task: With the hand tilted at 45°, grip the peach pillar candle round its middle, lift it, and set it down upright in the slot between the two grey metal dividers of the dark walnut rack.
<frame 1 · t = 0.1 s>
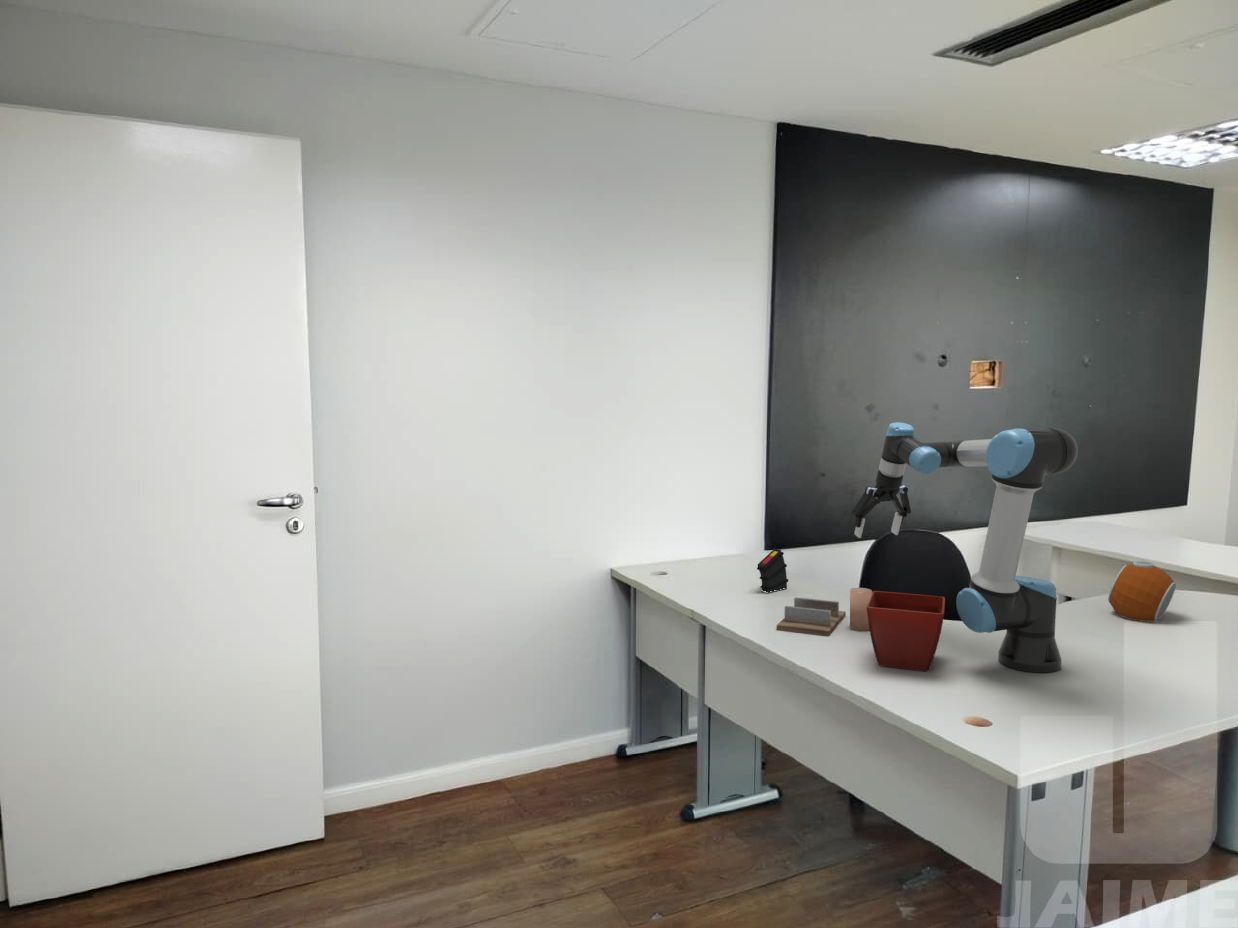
hand: (876, 534, 265), 28 cm above the table, tool tilted 20°, fingers open, 13 cm apart
plant pot: (905, 662, 229), on the table
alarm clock: (1140, 616, 270), on the table
peach pillar candle: (860, 628, 261), on the table
rack: (811, 622, 267), on the table
magazine: (772, 591, 309), on the table
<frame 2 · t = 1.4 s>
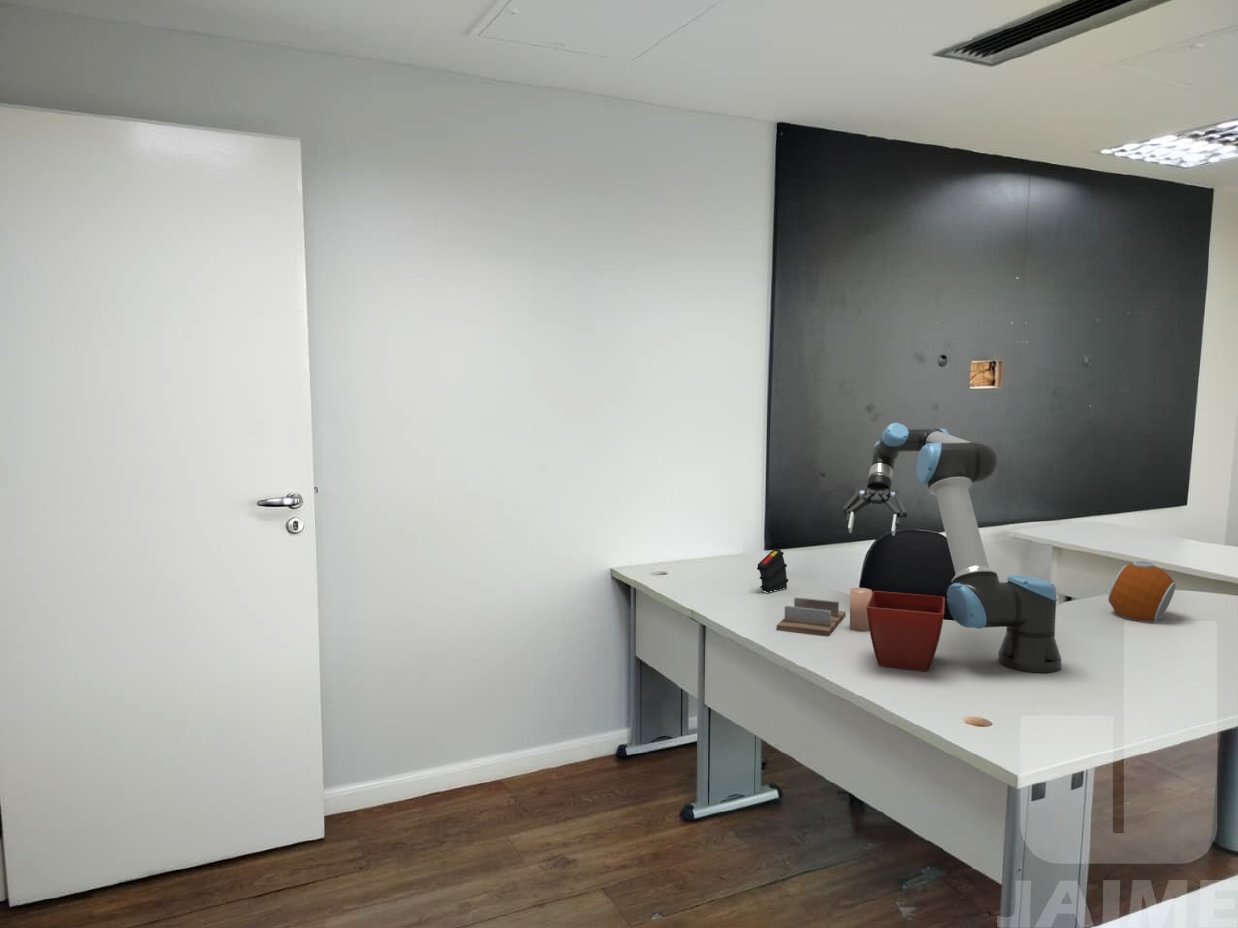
hand: (871, 531, 273), 27 cm above the table, tool tilted 45°, fingers open, 13 cm apart
nothing on the table moved.
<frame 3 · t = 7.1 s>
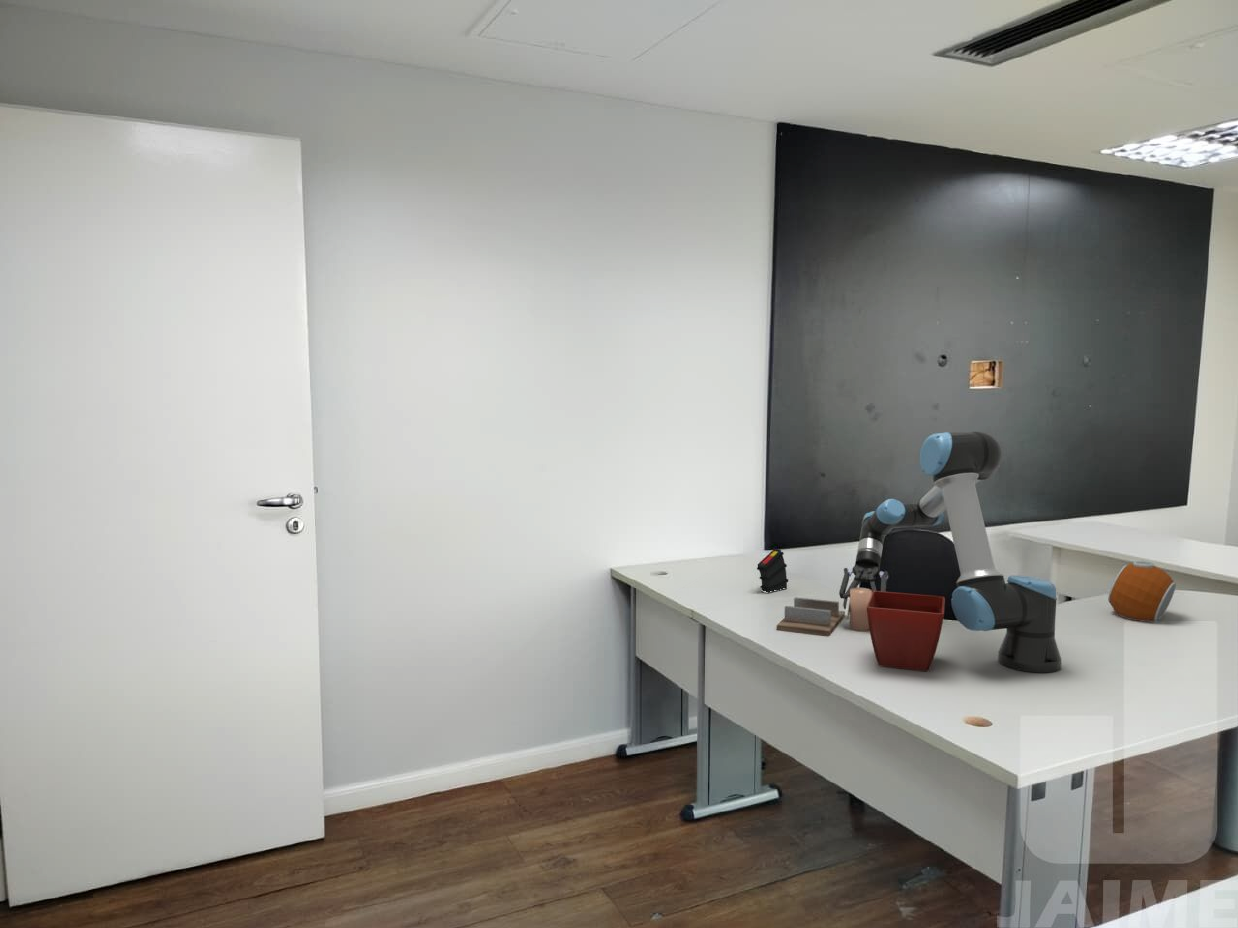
hand: (858, 618, 257), 4 cm above the table, tool tilted 45°, fingers closed on peach pillar candle, 6 cm apart
peach pillar candle: (860, 628, 261), on the table, touching gripper
everything else where it was.
when the fingers open (7 cm above the table, at t = 13.9 s): peach pillar candle drops 1 cm, resting on rack.
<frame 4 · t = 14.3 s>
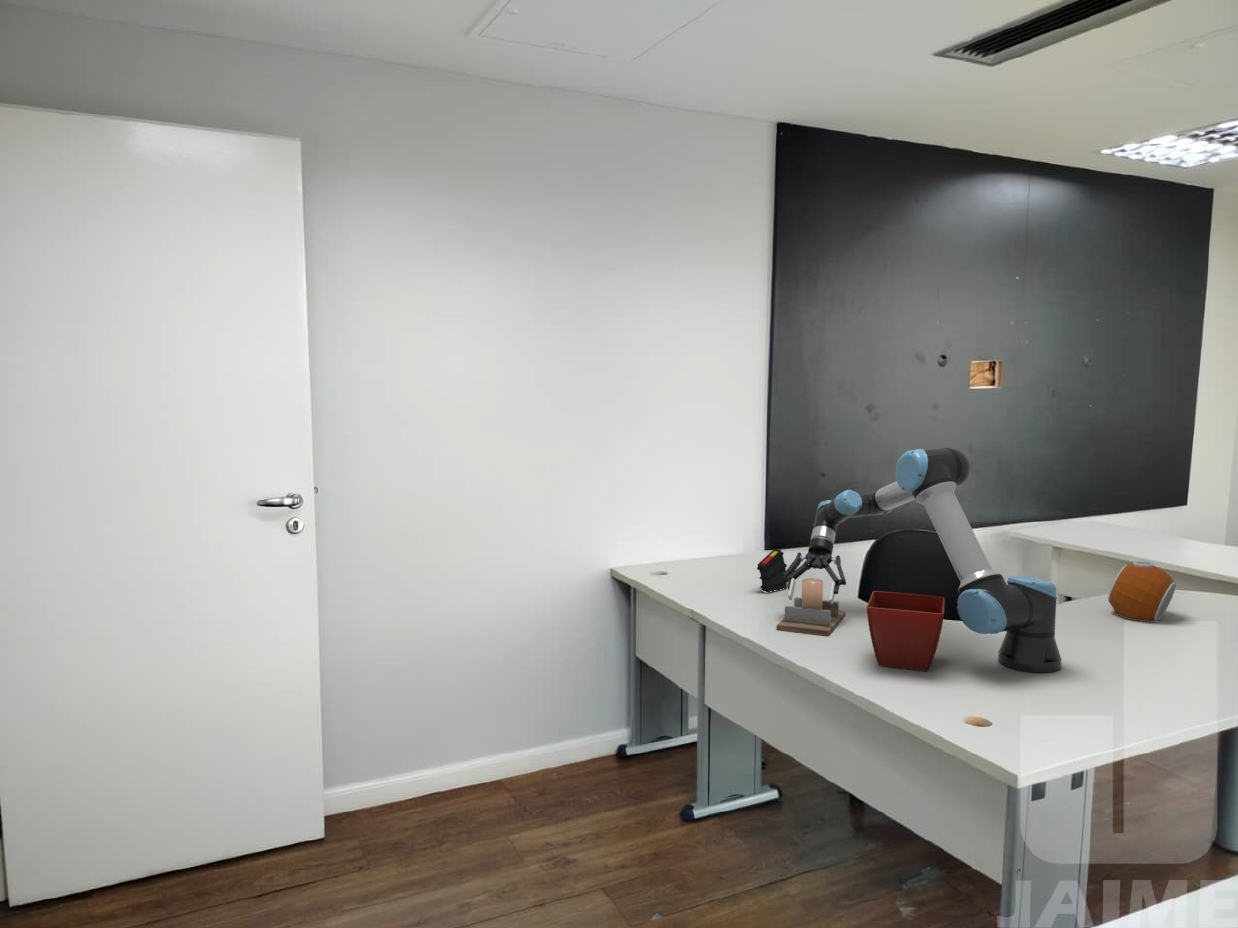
hand: (810, 599, 264), 8 cm above the table, tool tilted 45°, fingers open, 12 cm apart
peach pillar candle: (812, 618, 267), point 1 cm above the table, touching rack
everything else where it was.
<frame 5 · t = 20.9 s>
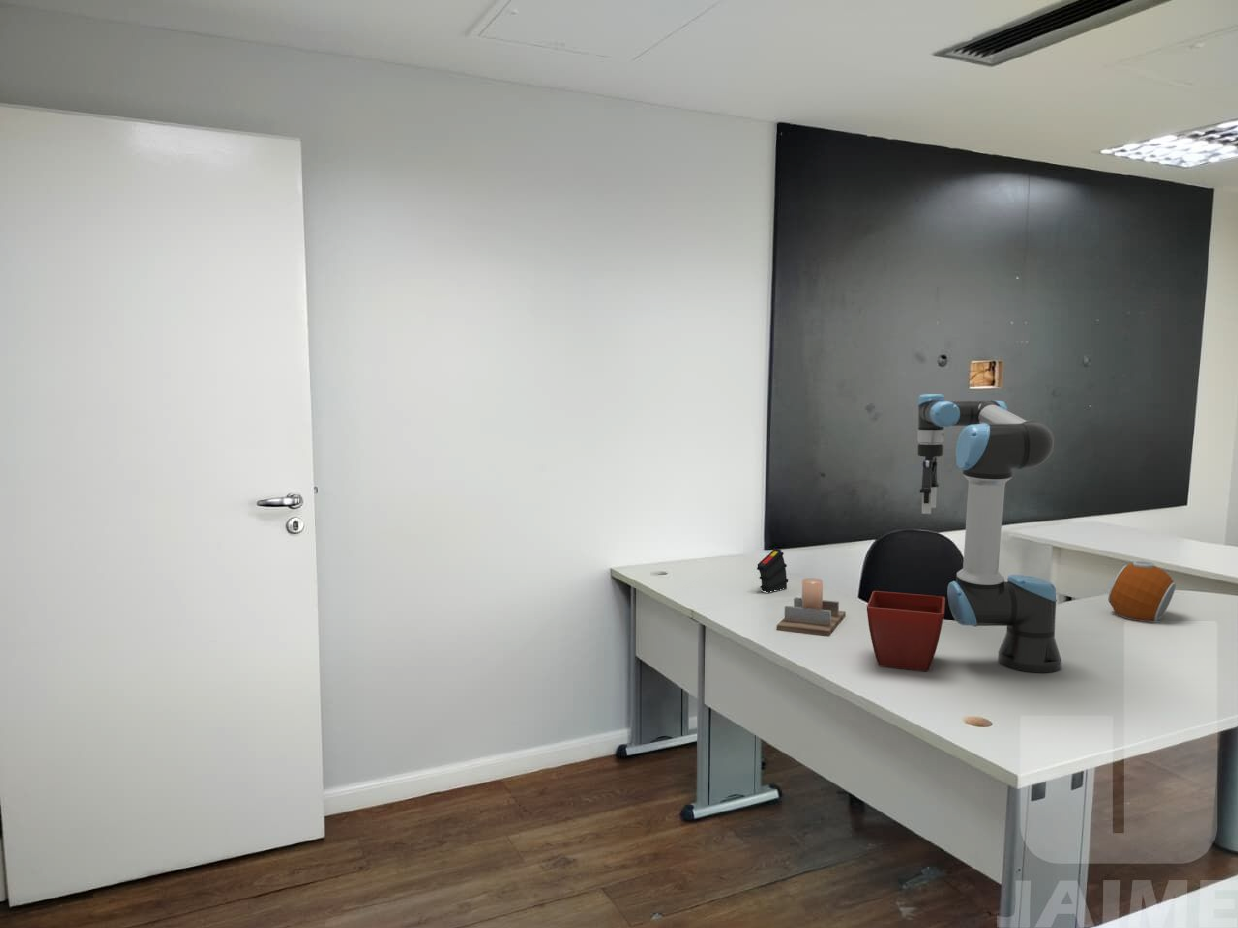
hand: (929, 510, 268), 35 cm above the table, tool pointing down, fingers open, 13 cm apart
nothing on the table moved.
at the end: peach pillar candle inside the target area on the rack (0.1 cm from its centre), point 1.5 cm above the rack's base; peach pillar candle tilted 0°; the gripper is holding nothing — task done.
